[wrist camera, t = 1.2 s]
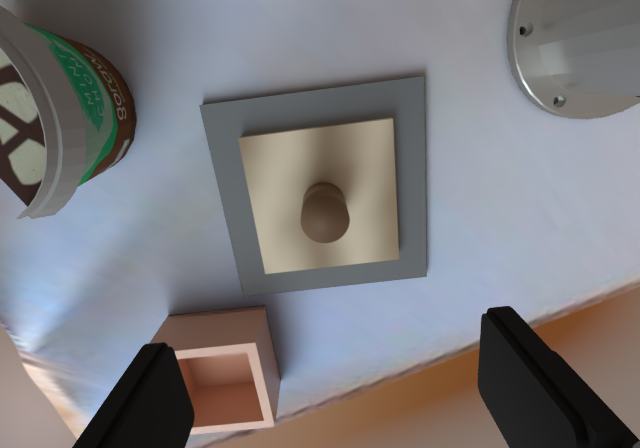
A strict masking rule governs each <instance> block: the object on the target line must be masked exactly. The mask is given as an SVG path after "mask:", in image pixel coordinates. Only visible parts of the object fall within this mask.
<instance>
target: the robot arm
mask: <svg viewBox="0 0 640 448" xmlns="http://www.w3.org/2000/svg"><path fill="white" fill-rule="evenodd" d="M520 28H521V29H522V33H521V35H520V31H519V30H520ZM507 52H508V60H509V63H510V67H511V71H512V74H513V76H514V78H515V80H516V82H517V84H518V86H519V88H520V90H521V91H522V92H523V93H524V95H525V96H526V97H527V98H528V99H529V101H531V102H532V103H533V104H535V105H536V106H537V107H539V108H540V109H541V110H544V111H546V112H548V113H551V114H553V115H555V116H560V117H566V118H572V119H594V118H602V117H606V116H610V115H613V114H616V113H619V112H622V111H624V110H626V109H628V108H630V107H632V106H634V105H636V104H638V103H640V0H514V1H513V4H512V8H511V12H510V15H509V21H508V30H507ZM554 100H555V101H554ZM478 389H479V392H480V395H481V397H482V399H483V401H484V402H485V404H486V406H487V408H488V410H489V411H490V413H491V415H492V417H493V419H494V420H495V422H496V424H497V426H498V428H499V430H500V431H501V433H502V435H503V437H504V439H505V440H506V442H507V444H508V446H509V447H510V448H640V440H639V439H638V438H637V437H636V436H635V435H634V434H633V433H632V432H631V430H630V429H629V428H628V427H627V426H626V425H625V424H624V423H623V422H622V421H621V420H620V419H619V418H618V417H617V416H616V415H615V413H614V412H613V411H612V410H611V409H610V408H609V407H608V406H607V405H606V404H605V403H604V402H603V401H602V400H601V399H600V398H599V397H598V395H597V394H596V393H595V392H594V391H593V390H592V389H591V388H590V387H589V386H588V385H587V384H586V383H585V382H584V381H583V380H582V379H581V377H579V375H578V374H577V373H576V372H575V371H574V370H573V369H572V368H571V367H570V366H569V365H568V364H567V363H566V362H565V360H564V359H563V358H562V357H561V356H559V355H558V354H557V353H556V352H554V351H552V350H551V349H550V348H549V347H548V346H547V345H546V344H545V343H544V342H543V341H542V339H541V338H540V337H539V336H538V335H537V334H536V333H535V332H534V331H533V330H532V329H531V328H530V327H529V325H528V324H527V323H526V322H525V321H524V320H523V319H522V318H521V317H520V316H519V315H518V314H517V313H516V311H515V310H514V309H513V308H511V307H510V306H504V307H494V308H489V309H488V310H487V313H486V314H483V315H482V318H481V335H480V352H479V369H478ZM194 419H195V413H194V409H193V406H192V403H191V400H190V397H189V394H188V391H187V388H186V385H185V382H184V379H183V376H182V372H181V369H180V366H179V363H178V360H177V357H176V354H175V351H174V349H173V348H172V347H168V344H167V343H165V342H161V343H151V344H145V345H144V346H143V347H142V348H141V349H140V351H139V352H138V354H137V355H136V356H135V358H134V359H133V361H132V362H131V364H130V365H129V367H128V368H127V369H126V371H125V372H124V374H123V375H122V377H121V378H120V380H119V381H118V382H117V384H116V385H115V387H114V388H113V390H112V391H111V392H110V394H109V395H108V397H107V398H106V400H105V401H104V403H103V404H102V405H101V407H100V408H99V410H98V411H97V413H96V414H95V416H94V417H93V418H92V420H91V421H90V423H89V424H88V426H87V427H86V428H85V430H84V431H83V433H82V434H81V436H80V437H79V439H78V440H77V441H76V443H75V444H74V446H73V447H72V448H185V446H186V443H187V440H188V438H189V435H190V432H191V430H192V427H193V424H194Z"/></svg>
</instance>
